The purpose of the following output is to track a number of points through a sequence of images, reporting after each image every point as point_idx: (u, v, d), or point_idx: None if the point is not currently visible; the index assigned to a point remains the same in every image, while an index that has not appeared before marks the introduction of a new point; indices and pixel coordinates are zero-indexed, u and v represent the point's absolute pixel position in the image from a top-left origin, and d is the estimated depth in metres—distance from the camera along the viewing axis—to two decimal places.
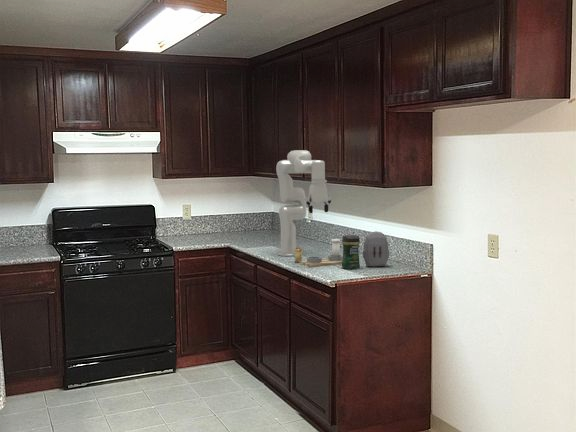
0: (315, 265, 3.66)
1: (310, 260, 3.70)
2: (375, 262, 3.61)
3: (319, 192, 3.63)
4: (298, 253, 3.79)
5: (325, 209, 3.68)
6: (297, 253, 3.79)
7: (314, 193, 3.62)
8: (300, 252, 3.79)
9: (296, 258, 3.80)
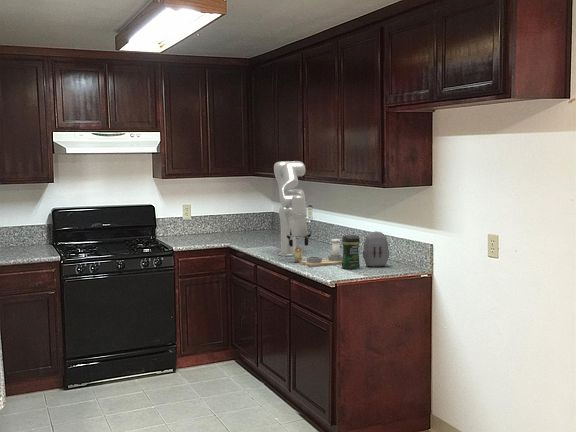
0: (315, 265, 3.66)
1: (310, 260, 3.70)
2: (375, 262, 3.61)
3: (299, 226, 3.77)
4: (298, 253, 3.79)
5: (305, 242, 3.82)
6: (297, 253, 3.79)
7: (294, 227, 3.76)
8: (300, 252, 3.79)
9: (296, 258, 3.80)
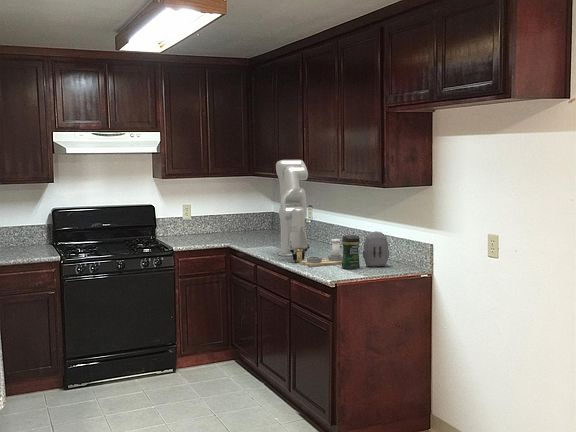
0: (315, 265, 3.66)
1: (310, 260, 3.70)
2: (375, 262, 3.61)
3: (299, 239, 3.78)
4: (298, 253, 3.79)
5: None
6: (297, 253, 3.79)
7: (294, 240, 3.77)
8: (300, 252, 3.79)
9: (296, 258, 3.80)
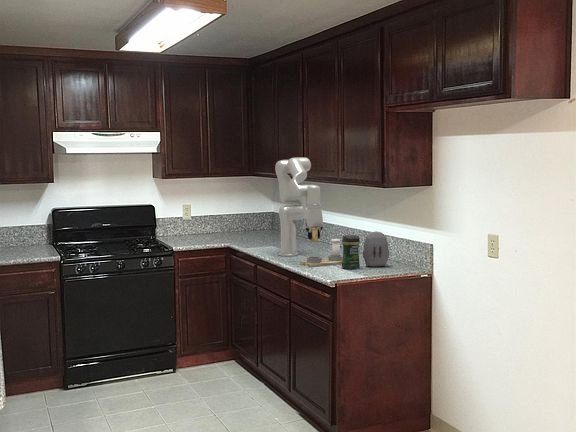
0: (315, 265, 3.66)
1: (310, 260, 3.70)
2: (375, 262, 3.61)
3: (315, 217, 3.69)
4: (314, 231, 3.70)
5: None
6: (313, 231, 3.70)
7: (309, 218, 3.68)
8: (316, 230, 3.70)
9: None
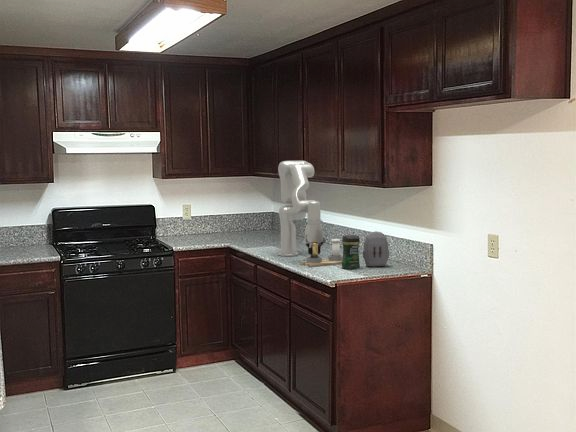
0: (315, 265, 3.66)
1: (310, 260, 3.70)
2: (375, 262, 3.61)
3: (315, 232, 3.69)
4: (314, 247, 3.70)
5: None
6: (313, 247, 3.70)
7: (310, 233, 3.68)
8: (316, 246, 3.71)
9: (312, 252, 3.71)
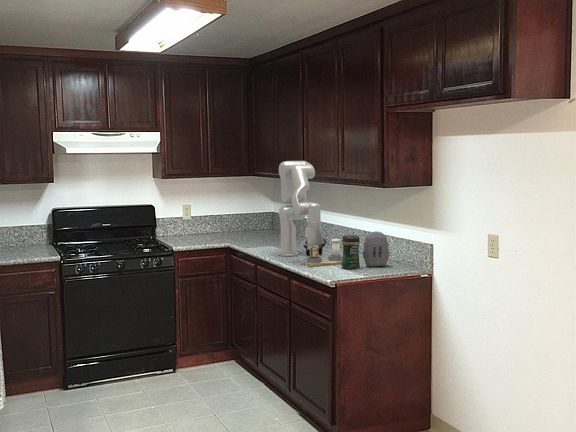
0: (315, 265, 3.66)
1: (310, 260, 3.70)
2: (375, 262, 3.61)
3: (315, 235, 3.69)
4: (314, 252, 3.71)
5: (319, 252, 3.74)
6: (313, 252, 3.71)
7: (310, 236, 3.69)
8: (316, 251, 3.71)
9: (312, 257, 3.72)
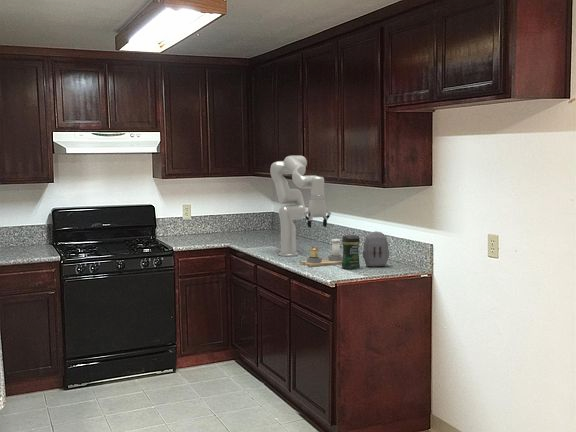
0: (315, 265, 3.66)
1: (310, 260, 3.70)
2: (375, 262, 3.61)
3: (318, 207, 3.75)
4: (314, 252, 3.71)
5: (324, 224, 3.80)
6: (313, 252, 3.71)
7: (313, 208, 3.74)
8: (316, 251, 3.71)
9: (312, 257, 3.72)
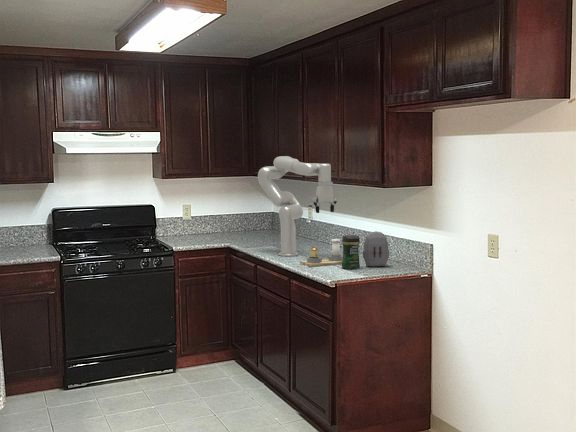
0: (315, 265, 3.66)
1: (310, 260, 3.70)
2: (375, 262, 3.61)
3: (326, 193, 3.88)
4: (314, 252, 3.71)
5: (331, 209, 3.93)
6: (313, 252, 3.71)
7: (321, 194, 3.87)
8: (316, 251, 3.71)
9: (312, 257, 3.72)
